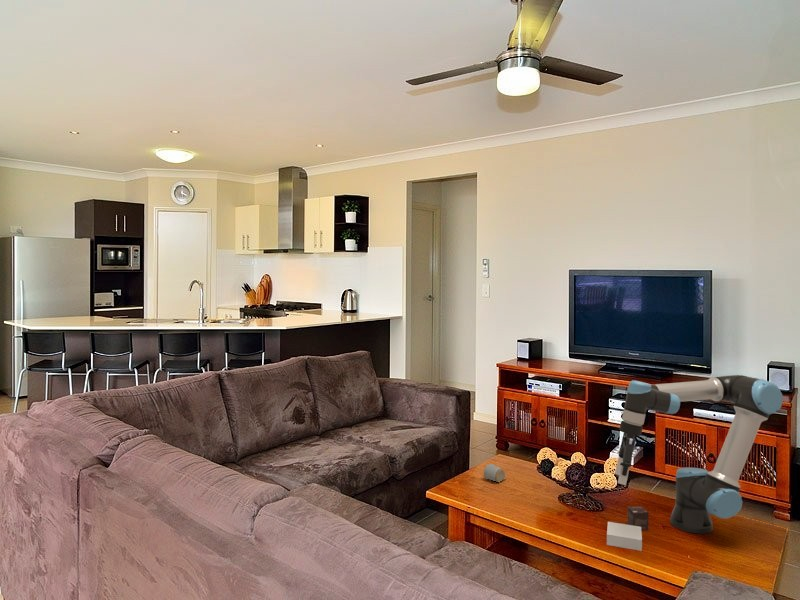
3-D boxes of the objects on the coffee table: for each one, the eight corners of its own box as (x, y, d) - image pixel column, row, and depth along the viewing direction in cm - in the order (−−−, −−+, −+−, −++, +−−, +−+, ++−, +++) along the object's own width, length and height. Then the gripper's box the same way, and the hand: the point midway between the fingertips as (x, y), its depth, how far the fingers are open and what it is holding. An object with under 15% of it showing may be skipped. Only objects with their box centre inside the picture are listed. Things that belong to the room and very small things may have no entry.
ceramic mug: (495, 485, 269) (496, 469, 268) (483, 480, 275) (483, 464, 275) (510, 480, 275) (510, 465, 275) (497, 476, 282) (497, 461, 281)
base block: (640, 537, 214) (641, 526, 214) (641, 550, 203) (641, 540, 203) (607, 531, 219) (607, 521, 219) (606, 544, 208) (606, 534, 208)
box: (641, 524, 226) (642, 506, 226) (648, 530, 220) (649, 512, 220) (626, 524, 226) (627, 506, 226) (633, 530, 220) (633, 512, 220)
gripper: (618, 415, 218) (607, 468, 218) (624, 425, 194) (611, 484, 194) (639, 420, 216) (627, 474, 216) (647, 431, 192) (634, 491, 192)
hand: (620, 479), depth 205 cm, fingers open, 13 cm apart
